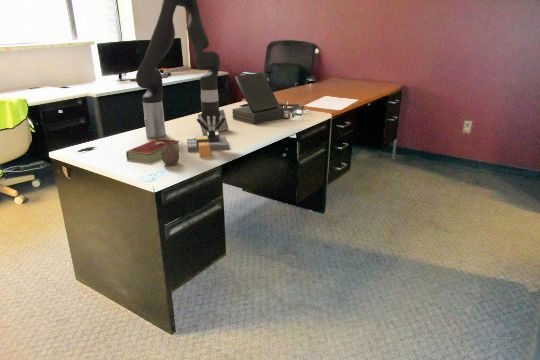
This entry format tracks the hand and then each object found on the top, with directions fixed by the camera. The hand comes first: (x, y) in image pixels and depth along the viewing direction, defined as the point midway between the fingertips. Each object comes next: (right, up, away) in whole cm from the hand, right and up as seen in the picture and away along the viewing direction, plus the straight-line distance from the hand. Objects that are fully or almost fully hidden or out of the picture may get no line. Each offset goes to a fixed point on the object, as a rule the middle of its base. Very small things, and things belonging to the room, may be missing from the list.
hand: (212, 138), depth 187 cm
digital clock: (-3, +6, +28) cm, 29 cm away
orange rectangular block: (-2, -8, -8) cm, 11 cm away
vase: (-14, -12, -18) cm, 26 cm away
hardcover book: (-25, -8, -4) cm, 26 cm away
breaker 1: (-4, -2, 0) cm, 5 cm away
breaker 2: (0, 0, +7) cm, 7 cm away
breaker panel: (-3, -3, +5) cm, 6 cm away
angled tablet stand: (+19, +16, +55) cm, 61 cm away
